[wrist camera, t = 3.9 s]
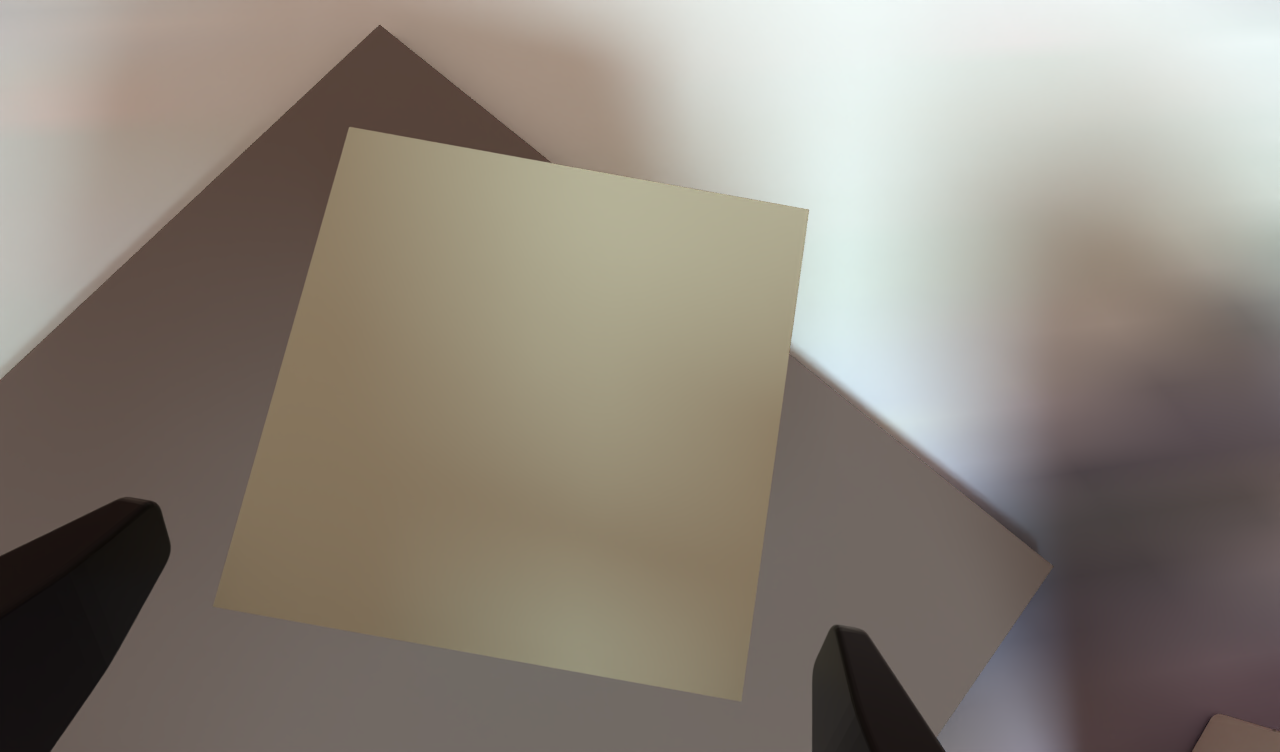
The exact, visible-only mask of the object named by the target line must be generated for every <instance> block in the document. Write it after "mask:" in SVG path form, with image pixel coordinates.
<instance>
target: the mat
mask: <svg viewBox="0 0 1280 752" xmlns="http://www.w3.org/2000/svg"><path fill="white" fill-rule="evenodd" d="M349 127H354V128H359V129H365V130H370V131H376V132H381V133H387V134H392V135H398V136H403V137H409V138H415V139H420V140H426V141H431V142H437V143H442V144H448V145H453V146H459V147H464V148H470V149H476V150H481V151H487V152H492V153H498V154H503V155H509V156H514V157H520V158H525V159H531V160H537V161H542V162H548V163H551V162H550V161H549V160H547V159H546V158H545V157H544V156H542V155H541V154H540V153H539V152H537V151H536V150H535V149H534V148H532V147H531V146H530V145H529V144H527V143H526V142H525V141H524V140H522V139H521V138H520V137H519V136H517V135H516V134H515V133H514V132H512V131H511V130H510V129H509V128H507V127H506V126H505V125H504V124H502V123H501V122H500V121H499V120H498V119H496V118H495V117H494V116H493V115H491V114H490V113H489V112H488V111H486V110H485V109H484V108H483V107H481V106H480V105H479V104H478V103H476V102H475V101H474V100H473V99H471V98H470V97H469V96H468V95H466V94H465V93H464V92H463V91H461V90H460V89H459V88H458V87H456V86H455V85H454V84H453V83H451V82H450V81H449V80H448V79H446V78H445V77H444V76H443V75H442V74H440V73H439V72H438V71H437V70H435V69H434V68H433V67H432V66H430V65H429V64H428V63H427V62H425V61H424V60H423V59H422V58H420V57H419V56H418V55H417V54H415V53H414V52H413V51H412V50H410V49H409V48H408V47H407V46H405V45H404V44H403V43H402V42H400V41H399V40H398V39H397V38H395V37H394V36H393V35H392V34H390V33H389V32H388V31H387V30H386V29H384V28H383V27H382V26H381V25H379V26H378V27H377V28H376V29H375V30H374V31H373V32H372V33H370V34H369V35H368V36H367V37H366V38H365V39H364V40H363V41H362V42H361V43H360V44H359V45H358V46H357V47H356V48H354V49H353V50H352V51H351V52H350V53H349V54H348V55H347V56H346V57H345V58H344V59H343V60H342V61H341V62H339V63H338V64H337V65H336V66H335V67H334V68H333V69H332V70H331V71H330V72H329V73H328V74H327V75H326V76H325V77H323V78H322V79H321V80H320V81H319V82H318V83H317V84H316V85H315V86H314V87H313V88H312V89H311V90H310V91H309V92H307V93H306V94H305V95H304V96H303V97H302V98H301V99H300V100H299V101H298V102H297V103H296V104H295V105H294V106H293V107H291V108H290V109H289V110H288V111H287V112H286V113H285V114H284V115H283V116H282V117H281V118H280V119H279V120H278V121H277V122H275V123H274V124H273V125H272V126H271V127H270V128H269V129H268V130H267V131H266V132H265V133H264V134H263V135H262V136H260V137H259V138H258V139H257V140H256V141H255V142H254V143H253V144H252V145H251V146H250V147H249V148H248V149H247V150H246V151H244V152H243V153H242V154H241V155H240V156H239V157H238V158H237V159H236V160H235V161H234V162H233V163H232V164H231V165H230V166H228V167H227V168H226V169H225V170H224V171H223V172H222V173H221V174H220V175H219V176H218V177H217V178H216V179H215V180H214V181H212V182H211V183H210V184H209V185H208V186H207V187H206V188H205V189H204V190H203V191H202V192H201V193H200V194H199V195H198V196H196V197H195V198H194V199H193V200H192V201H191V202H190V203H189V204H188V205H187V206H186V207H185V208H184V209H183V210H182V211H180V212H179V213H178V214H177V215H176V216H175V217H174V218H173V219H172V220H171V221H170V222H169V223H168V224H167V225H165V226H164V227H163V228H162V229H161V230H160V231H159V232H158V233H157V234H156V235H155V236H154V237H153V238H152V239H151V240H149V241H148V242H147V243H146V244H145V245H144V246H143V247H142V248H141V249H140V250H139V251H138V252H137V253H136V254H135V255H133V256H132V257H131V258H130V259H129V260H128V261H127V262H126V263H125V264H124V265H123V266H122V267H121V268H120V269H119V270H117V271H116V272H115V273H114V274H113V275H112V276H111V277H110V278H109V279H108V280H107V281H106V282H105V283H104V284H103V285H101V286H100V287H99V288H98V289H97V290H96V291H95V292H94V293H93V294H92V295H91V296H90V297H89V298H88V299H86V300H85V301H84V302H83V303H82V304H81V305H80V306H79V307H78V308H77V309H76V310H75V311H74V312H73V313H72V314H70V315H69V316H68V317H67V318H66V319H65V320H64V321H63V322H62V323H61V324H60V325H59V326H58V327H57V328H56V329H54V330H53V331H52V332H51V333H50V334H49V335H48V336H47V337H46V338H45V339H44V340H43V341H42V342H41V343H40V344H38V345H37V346H36V347H35V348H34V349H33V350H32V351H31V352H30V353H29V354H28V355H27V356H26V357H25V358H24V359H22V360H21V361H20V362H19V363H18V364H17V365H16V366H15V367H14V368H13V369H12V370H11V371H10V372H9V373H7V374H6V375H5V376H4V377H3V378H2V379H1V380H0V556H1V555H3V554H5V553H7V552H9V551H11V550H13V549H15V548H17V547H19V546H21V545H23V544H25V543H27V542H29V541H32V540H34V539H36V538H38V537H40V536H42V535H44V534H46V533H48V532H50V531H52V530H54V529H56V528H58V527H60V526H63V525H65V524H67V523H69V522H71V521H73V520H75V519H77V518H79V517H81V516H83V515H85V514H87V513H89V512H91V511H93V510H96V509H98V508H100V507H102V506H104V505H106V504H108V503H110V502H112V501H114V500H117V499H119V498H123V497H133V498H139V499H144V500H150V501H154V502H156V503H157V504H158V505H159V506H160V508H161V511H162V514H163V518H164V521H165V525H166V528H167V532H168V535H169V539H170V542H171V552H170V556H169V559H168V562H167V564H166V566H165V567H164V569H163V571H162V573H161V575H160V576H159V578H158V580H157V582H156V584H155V586H154V587H153V589H152V591H151V593H150V595H149V596H148V598H147V600H146V602H145V604H144V605H143V607H142V609H141V611H140V613H139V614H138V616H137V618H136V620H135V622H134V623H133V625H132V627H131V629H130V631H129V632H128V634H127V636H126V638H125V640H124V641H123V643H122V645H121V647H120V649H119V650H118V652H117V654H116V656H115V657H114V659H113V661H112V662H111V664H110V666H109V667H108V669H107V670H106V672H105V673H104V675H103V676H102V678H101V679H100V681H99V682H98V684H97V685H96V687H95V688H94V690H93V691H92V693H91V694H90V696H89V697H88V698H87V700H86V701H85V703H84V704H83V706H82V707H81V709H80V710H79V711H78V713H77V714H76V716H75V717H74V719H73V720H72V722H71V723H70V724H69V726H68V727H67V729H66V730H65V732H64V733H63V735H62V736H61V737H60V739H59V740H58V742H57V743H56V745H55V746H54V748H53V749H52V750H51V752H812V674H813V667H814V663H815V660H816V658H817V655H818V653H819V651H820V649H821V647H822V645H823V642H824V640H825V638H826V636H827V634H828V631H829V630H830V628H831V627H832V626H833V625H837V624H839V625H844V626H850V627H856V628H860V629H862V630H864V631H865V632H866V633H867V634H868V635H869V637H870V638H871V640H872V641H873V643H874V644H875V646H876V647H877V649H878V650H879V652H880V653H881V655H882V656H883V658H884V659H885V661H886V662H887V664H888V665H889V667H890V668H891V670H892V671H893V673H894V674H895V676H896V678H897V679H898V681H899V682H900V684H901V685H902V687H903V688H904V690H905V691H906V693H907V694H908V696H909V697H910V699H911V700H912V702H913V703H914V705H915V706H916V708H917V709H918V711H919V712H920V714H921V715H922V717H923V718H924V720H925V721H926V723H927V724H928V726H929V727H930V729H931V730H932V732H933V733H934V735H935V736H936V737H937V736H938V734H939V733H940V731H941V730H942V729H943V727H944V726H945V724H946V723H947V721H948V720H949V718H950V717H951V715H952V714H953V712H954V711H955V710H956V708H957V707H958V705H959V704H960V702H961V701H962V699H963V698H964V696H965V695H966V694H967V692H968V691H969V689H970V688H971V686H972V685H973V683H974V682H975V680H976V679H977V677H978V676H979V675H980V673H981V672H982V670H983V669H984V667H985V666H986V664H987V663H988V661H989V660H990V658H991V657H992V656H993V654H994V653H995V651H996V650H997V648H998V647H999V645H1000V644H1001V642H1002V641H1003V639H1004V638H1005V637H1006V635H1007V634H1008V632H1009V631H1010V629H1011V628H1012V626H1013V625H1014V623H1015V622H1016V621H1017V619H1018V618H1019V616H1020V615H1021V613H1022V612H1023V610H1024V609H1025V607H1026V606H1027V604H1028V603H1029V602H1030V600H1031V599H1032V597H1033V596H1034V594H1035V593H1036V591H1037V590H1038V588H1039V587H1040V585H1041V584H1042V583H1043V581H1044V580H1045V578H1046V577H1047V575H1048V574H1049V572H1050V571H1051V569H1052V568H1053V565H1051V564H1050V563H1049V562H1048V561H1046V560H1045V559H1044V558H1043V557H1041V556H1040V555H1039V554H1038V553H1036V552H1035V551H1034V550H1033V549H1031V548H1030V547H1029V546H1028V545H1026V544H1025V543H1024V542H1023V541H1021V540H1020V539H1019V538H1018V537H1016V536H1015V535H1014V534H1013V533H1011V532H1010V531H1009V530H1008V529H1006V528H1005V527H1004V526H1003V525H1001V524H1000V523H999V522H998V521H997V520H995V519H994V518H993V517H992V516H990V515H989V514H988V513H987V512H985V511H984V510H983V509H982V508H980V507H979V506H978V505H977V504H975V503H974V502H973V501H972V500H970V499H969V498H968V497H967V496H965V495H964V494H963V493H962V492H960V491H959V490H958V489H957V488H955V487H954V486H953V485H952V484H950V483H949V482H948V481H947V480H945V479H944V478H943V477H942V476H941V475H939V474H938V473H937V472H936V471H934V470H933V469H932V468H931V467H929V466H928V465H927V464H926V463H924V462H923V461H922V460H921V459H919V458H918V457H917V456H916V455H914V454H913V453H912V452H911V451H909V450H908V449H907V448H906V447H904V446H903V445H902V444H901V443H899V442H898V441H897V440H896V439H894V438H893V437H892V436H891V435H889V434H888V433H887V432H886V431H885V430H883V429H882V428H881V427H880V426H878V425H877V424H876V423H875V422H873V421H872V420H871V419H870V418H868V417H867V416H866V415H865V414H863V413H862V412H861V411H860V410H858V409H857V408H856V407H855V406H853V405H852V404H851V403H850V402H848V401H847V400H846V399H845V398H843V397H842V396H841V395H840V394H838V393H837V392H836V391H835V390H833V389H832V388H831V387H830V386H829V385H827V384H826V383H825V382H824V381H822V380H821V379H820V378H819V377H817V376H816V375H815V374H814V373H812V372H811V371H810V370H809V369H807V368H806V367H805V366H804V365H802V364H801V363H800V362H799V361H797V360H796V359H795V358H794V357H792V356H791V355H790V354H789V359H788V366H787V374H786V381H785V388H784V395H783V403H782V410H781V417H780V424H779V432H778V439H777V446H776V454H775V461H774V468H773V475H772V483H771V490H770V497H769V504H768V512H767V519H766V526H765V533H764V541H763V548H762V555H761V563H760V570H759V577H758V584H757V592H756V599H755V606H754V613H753V621H752V628H751V635H750V643H749V650H748V657H747V664H746V672H745V679H744V686H743V693H742V701H741V702H740V701H735V700H729V699H724V698H718V697H713V696H707V695H701V694H696V693H690V692H685V691H679V690H674V689H668V688H663V687H657V686H651V685H646V684H640V683H635V682H629V681H624V680H618V679H612V678H607V677H601V676H596V675H590V674H585V673H579V672H573V671H568V670H562V669H557V668H551V667H546V666H540V665H534V664H529V663H523V662H518V661H512V660H507V659H501V658H495V657H490V656H484V655H479V654H473V653H468V652H462V651H457V650H451V649H445V648H440V647H434V646H429V645H423V644H418V643H412V642H406V641H401V640H395V639H390V638H384V637H379V636H373V635H367V634H362V633H356V632H351V631H345V630H340V629H334V628H328V627H323V626H317V625H312V624H306V623H301V622H295V621H290V620H284V619H278V618H273V617H267V616H262V615H256V614H251V613H245V612H239V611H234V610H228V609H223V608H217V607H213V604H214V601H215V597H216V594H217V590H218V587H219V583H220V579H221V576H222V572H223V569H224V565H225V562H226V558H227V555H228V551H229V548H230V544H231V541H232V537H233V534H234V530H235V527H236V523H237V520H238V516H239V513H240V509H241V506H242V502H243V499H244V495H245V492H246V488H247V485H248V481H249V478H250V474H251V470H252V467H253V463H254V460H255V456H256V453H257V449H258V446H259V442H260V439H261V435H262V432H263V428H264V425H265V421H266V418H267V414H268V411H269V407H270V404H271V400H272V397H273V393H274V390H275V386H276V383H277V379H278V376H279V372H280V369H281V365H282V361H283V358H284V354H285V351H286V347H287V344H288V340H289V337H290V333H291V330H292V326H293V323H294V319H295V316H296V312H297V309H298V305H299V302H300V298H301V295H302V291H303V288H304V284H305V281H306V277H307V274H308V270H309V267H310V263H311V259H312V256H313V252H314V249H315V245H316V242H317V238H318V235H319V231H320V228H321V224H322V221H323V217H324V214H325V210H326V207H327V203H328V200H329V196H330V193H331V189H332V186H333V182H334V179H335V175H336V172H337V168H338V165H339V161H340V158H341V154H342V150H343V147H344V143H345V140H346V136H347V133H348V129H349Z"/></svg>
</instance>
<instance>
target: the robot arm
mask: <svg viewBox="0 0 1280 752" xmlns="http://www.w3.org/2000/svg"><path fill="white" fill-rule="evenodd" d="M170 552H171V542H170V539H169V535H168V532H167V528H166V525H165V521H164V518H163V514H162V511H161V508H160V506H159V505H158V504H157V503H156V502H154V501H150V500H144V499H139V498H133V497H123V498H119V499H117V500H114V501H112V502H110V503H108V504H106V505H104V506H102V507H100V508H98V509H96V510H93V511H91V512H89V513H87V514H85V515H83V516H81V517H79V518H77V519H75V520H73V521H71V522H69V523H67V524H65V525H63V526H60V527H58V528H56V529H54V530H52V531H50V532H48V533H46V534H44V535H42V536H40V537H38V538H36V539H34V540H32V541H29V542H27V543H25V544H23V545H21V546H19V547H17V548H15V549H13V550H11V551H9V552H7V553H5V554H3V555H1V556H0V752H51V750H52V749H53V748H54V746H55V745H56V743H57V742H58V740H59V739H60V737H61V736H62V735H63V733H64V732H65V730H66V729H67V727H68V726H69V724H70V723H71V722H72V720H73V719H74V717H75V716H76V714H77V713H78V711H79V710H80V709H81V707H82V706H83V704H84V703H85V701H86V700H87V698H88V697H89V696H90V694H91V693H92V691H93V690H94V688H95V687H96V685H97V684H98V682H99V681H100V679H101V678H102V676H103V675H104V673H105V672H106V670H107V669H108V667H109V666H110V664H111V662H112V661H113V659H114V657H115V656H116V654H117V652H118V650H119V649H120V647H121V645H122V643H123V641H124V640H125V638H126V636H127V634H128V632H129V631H130V629H131V627H132V625H133V623H134V622H135V620H136V618H137V616H138V614H139V613H140V611H141V609H142V607H143V605H144V604H145V602H146V600H147V598H148V596H149V595H150V593H151V591H152V589H153V587H154V586H155V584H156V582H157V580H158V578H159V576H160V575H161V573H162V571H163V569H164V567H165V566H166V564H167V562H168V559H169V556H170ZM812 752H945V750H944V748H943V747H942V745H941V744H940V742H939V741H938V739H937V738H936V736H935V735H934V733H933V732H932V730H931V729H930V727H929V726H928V724H927V723H926V721H925V720H924V718H923V717H922V715H921V714H920V712H919V711H918V709H917V708H916V706H915V705H914V703H913V702H912V700H911V699H910V697H909V696H908V694H907V693H906V691H905V690H904V688H903V687H902V685H901V684H900V682H899V681H898V679H897V678H896V676H895V674H894V673H893V671H892V670H891V668H890V667H889V665H888V664H887V662H886V661H885V659H884V658H883V656H882V655H881V653H880V652H879V650H878V649H877V647H876V646H875V644H874V643H873V641H872V640H871V638H870V637H869V635H868V634H867V633H866V632H865V631H864V630H862V629H860V628H856V627H850V626H844V625H839V624H837V625H833V626H832V627H831V628H830V630H829V631H828V634H827V636H826V638H825V640H824V642H823V645H822V647H821V649H820V651H819V653H818V655H817V658H816V660H815V663H814V667H813V674H812Z"/></svg>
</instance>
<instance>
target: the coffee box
mask: <svg viewBox="0 0 1280 752" xmlns="http://www.w3.org/2000/svg"><path fill="white" fill-rule="evenodd" d="M1192 752H1280V731H1277V730H1273V729H1270V728H1267V727H1263V726H1260V725H1257V724H1253V723H1250V722H1247V721H1243V720H1240V719H1237V718H1233V717H1230V716H1226V715H1222V714H1216V715H1214V716H1213V717H1212V718H1211V719H1210V721H1209V723H1208V724H1207V726H1206V728H1205V730H1204V731H1203V733H1202V735H1201V737H1200V738H1199V740H1198V742H1197V744H1196V745H1195V747H1194V749H1193V751H1192Z"/></svg>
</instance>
